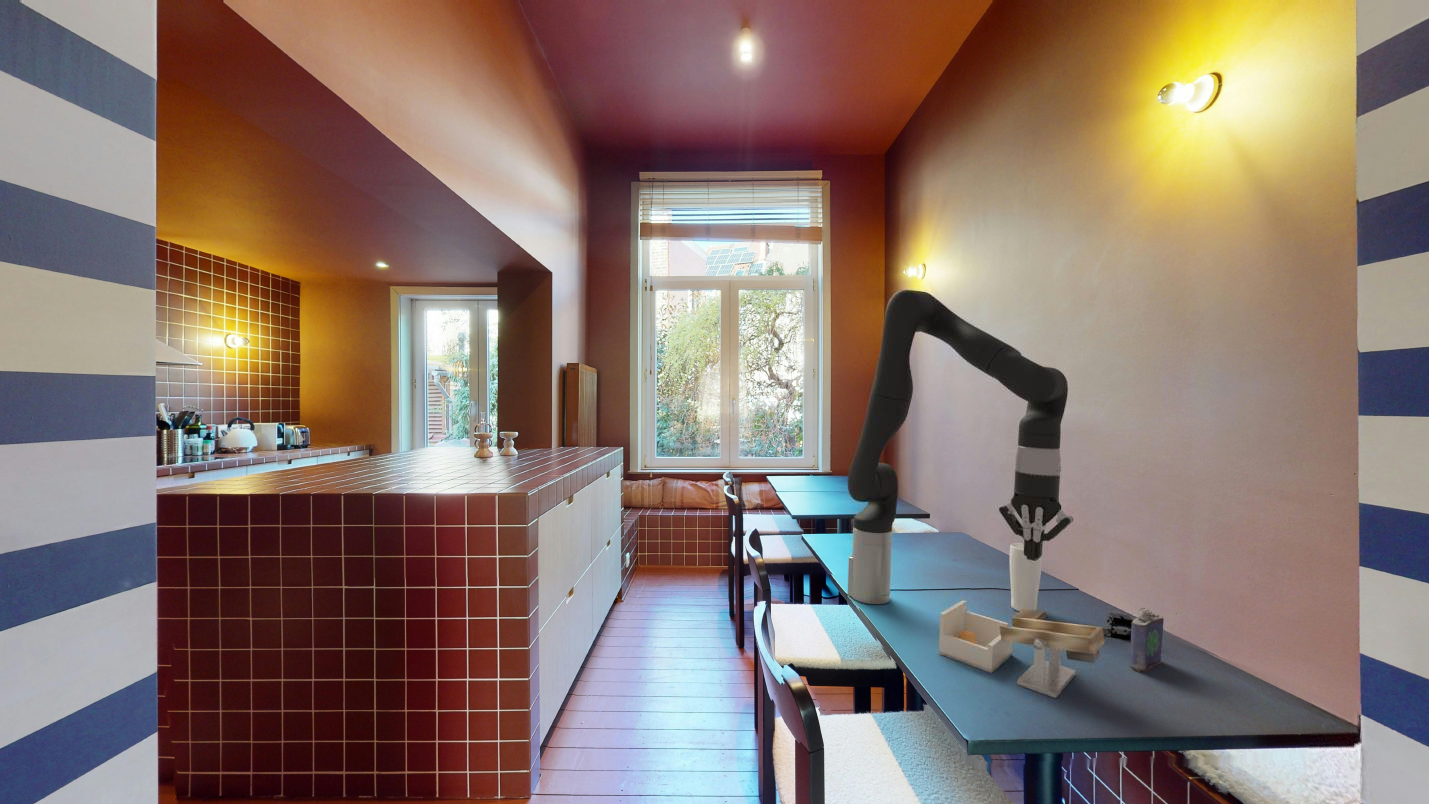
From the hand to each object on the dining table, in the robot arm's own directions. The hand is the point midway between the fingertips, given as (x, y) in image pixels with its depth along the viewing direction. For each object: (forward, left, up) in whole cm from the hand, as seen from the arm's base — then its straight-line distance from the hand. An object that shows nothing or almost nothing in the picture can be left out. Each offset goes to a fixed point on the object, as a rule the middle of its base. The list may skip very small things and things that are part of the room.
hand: (1032, 559), depth 109 cm
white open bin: (-8, -7, -19) cm, 22 cm away
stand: (+5, -7, -19) cm, 21 cm away
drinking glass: (-9, +26, -20) cm, 34 cm away
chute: (+6, -4, -14) cm, 16 cm away
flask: (+16, +14, -20) cm, 29 cm away
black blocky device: (+10, +27, -20) cm, 35 cm away
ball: (-9, -7, -17) cm, 20 cm away
